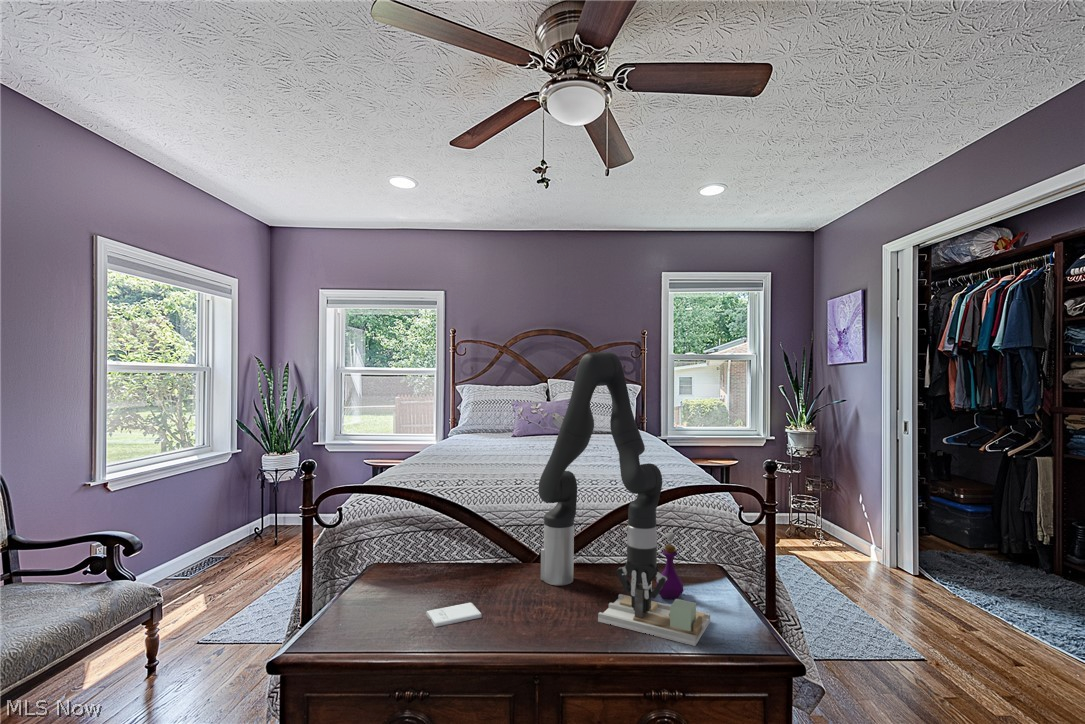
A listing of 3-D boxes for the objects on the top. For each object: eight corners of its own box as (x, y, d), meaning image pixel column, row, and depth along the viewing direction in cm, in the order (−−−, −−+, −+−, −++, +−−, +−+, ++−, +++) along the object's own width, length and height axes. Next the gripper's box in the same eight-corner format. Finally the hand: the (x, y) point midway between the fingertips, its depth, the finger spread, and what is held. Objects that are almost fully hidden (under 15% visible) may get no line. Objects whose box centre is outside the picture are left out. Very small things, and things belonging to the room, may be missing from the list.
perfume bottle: (683, 602, 158) (684, 538, 158) (656, 600, 160) (656, 536, 160) (682, 592, 166) (682, 530, 166) (656, 590, 167) (656, 528, 167)
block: (670, 626, 138) (670, 605, 138) (676, 618, 142) (676, 598, 142) (690, 631, 136) (690, 610, 136) (695, 623, 140) (696, 602, 140)
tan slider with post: (633, 622, 143) (633, 589, 143) (639, 614, 147) (640, 583, 147) (696, 637, 135) (697, 603, 135) (701, 629, 139) (702, 596, 139)
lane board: (598, 621, 146) (598, 611, 146) (619, 600, 159) (620, 591, 159) (695, 646, 134) (695, 635, 134) (710, 621, 147) (710, 611, 147)
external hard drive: (481, 619, 148) (435, 629, 142) (470, 607, 155) (425, 616, 149) (481, 613, 148) (435, 622, 142) (470, 601, 155) (426, 609, 149)
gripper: (610, 542, 145) (610, 610, 145) (663, 551, 138) (663, 623, 138) (621, 534, 151) (621, 600, 151) (672, 543, 144) (672, 611, 144)
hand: (641, 610), depth 144 cm, fingers closed on tan slider with post, 2 cm apart
